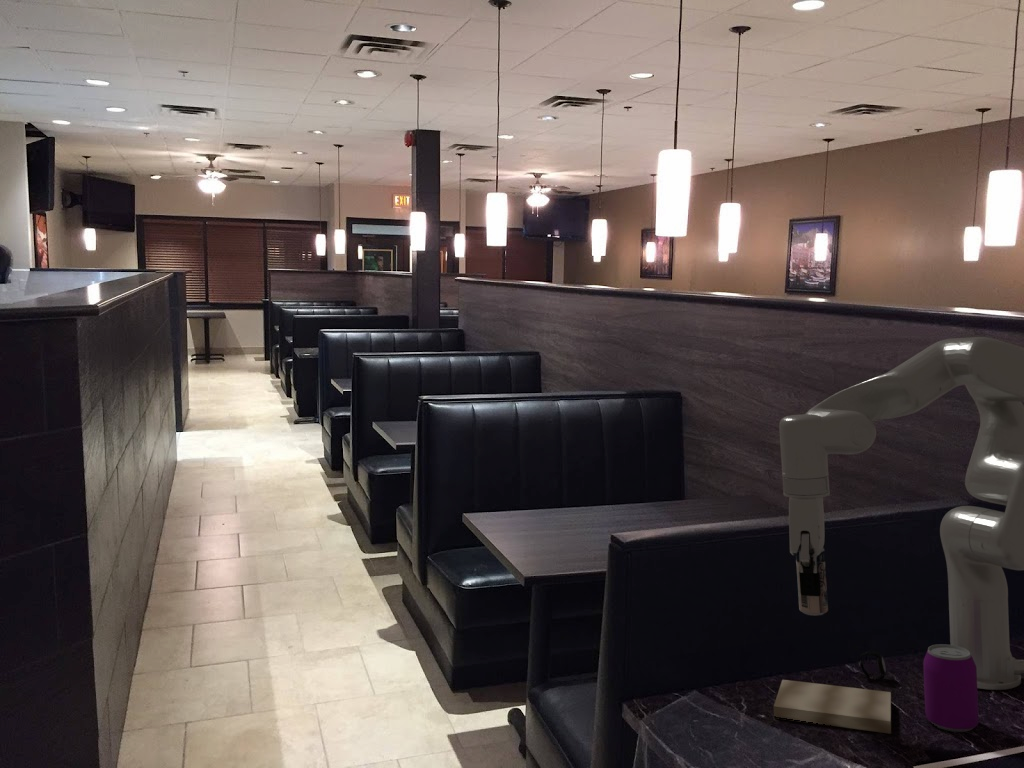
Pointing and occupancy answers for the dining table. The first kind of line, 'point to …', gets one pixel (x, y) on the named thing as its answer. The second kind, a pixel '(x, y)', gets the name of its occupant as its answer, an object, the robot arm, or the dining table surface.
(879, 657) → the smartwatch
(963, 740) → the dining table surface
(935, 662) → the beverage can
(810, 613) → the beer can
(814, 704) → the birch board
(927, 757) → the dining table surface
